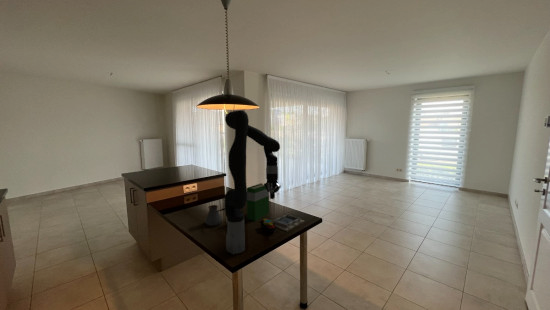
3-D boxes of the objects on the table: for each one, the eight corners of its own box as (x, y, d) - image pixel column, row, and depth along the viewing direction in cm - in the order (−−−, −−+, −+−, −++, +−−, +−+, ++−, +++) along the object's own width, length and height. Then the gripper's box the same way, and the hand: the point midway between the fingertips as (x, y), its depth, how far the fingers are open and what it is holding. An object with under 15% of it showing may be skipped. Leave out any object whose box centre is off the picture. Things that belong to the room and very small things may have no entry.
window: (287, 231, 140) (287, 226, 140) (268, 224, 151) (268, 220, 151) (304, 222, 155) (304, 218, 155) (286, 216, 166) (286, 212, 166)
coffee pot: (201, 225, 150) (200, 204, 149) (214, 219, 160) (214, 200, 159) (222, 233, 138) (222, 210, 137) (235, 226, 148) (235, 205, 146)
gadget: (269, 235, 135) (269, 227, 134) (259, 226, 146) (259, 218, 145) (277, 233, 139) (278, 225, 138) (267, 224, 150) (267, 216, 149)
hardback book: (261, 212, 175) (261, 183, 173) (269, 214, 171) (268, 184, 169) (247, 219, 160) (246, 187, 158) (255, 221, 156) (254, 189, 154)
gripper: (260, 171, 139) (260, 198, 141) (276, 174, 131) (276, 202, 133) (268, 170, 145) (268, 195, 147) (283, 172, 136) (284, 199, 138)
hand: (272, 198), depth 140 cm, fingers closed
